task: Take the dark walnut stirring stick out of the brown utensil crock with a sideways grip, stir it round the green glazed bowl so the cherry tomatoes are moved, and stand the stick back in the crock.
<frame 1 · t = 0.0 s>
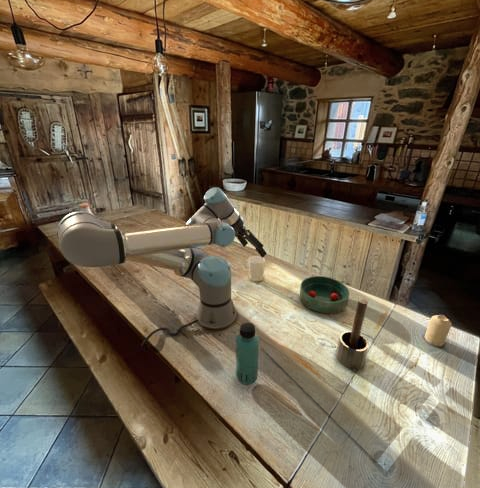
hand: (254, 249, 122), 15 cm above the table, tool tilted 35°, fingers open, 13 cm apart
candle: (433, 341, 92), on the table
tomato 1: (334, 296, 111), point 2 cm above the table, touching bowl
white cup: (256, 278, 128), on the table
tomato 2: (312, 294, 112), point 2 cm above the table, touching bowl
bowl: (322, 300, 112), on the table
crock: (349, 359, 84), on the table
stirring stick: (349, 358, 84), point 1 cm above the table, touching crock
beverage bottle: (246, 380, 77), on the table
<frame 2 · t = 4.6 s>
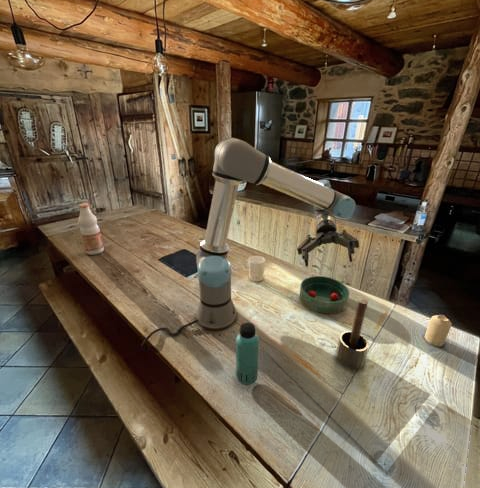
hand: (327, 260, 85), 28 cm above the table, tool horizontal, fingers open, 13 cm apart
nothing on the table moved.
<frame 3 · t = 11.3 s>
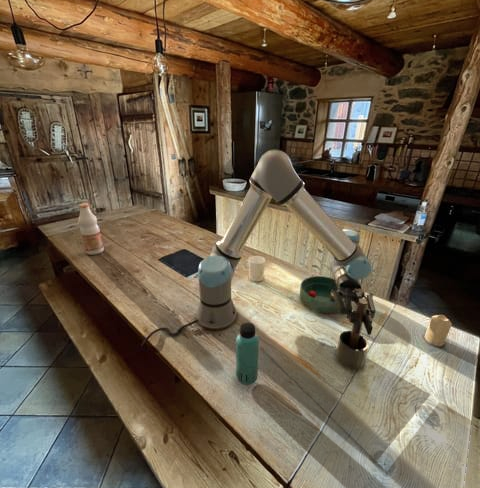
hand: (364, 330, 72), 17 cm above the table, tool horizontal, fingers closed on stirring stick, 2 cm apart
stirring stick: (349, 358, 84), point 1 cm above the table, touching gripper
everything else where it was.
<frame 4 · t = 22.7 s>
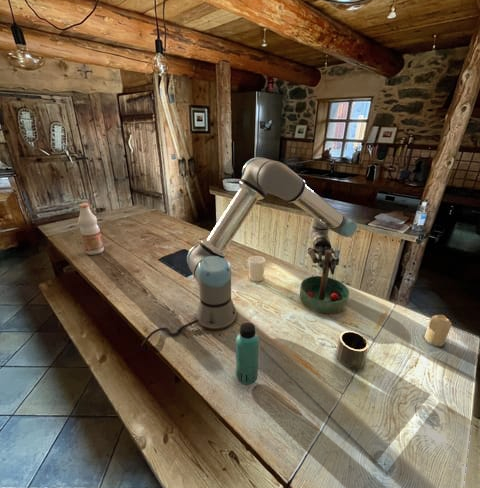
hand: (328, 270, 98), 19 cm above the table, tool horizontal, fingers closed on stirring stick, 2 cm apart
tomato 2: (309, 295, 111), point 2 cm above the table, tilted 62°, touching bowl
stirring stick: (321, 298, 110), point 2 cm above the table, touching gripper
everything else where it was.
when the fingers open (17 cm above the table, at t = 33.4 s): stirring stick stays where it is, resting on crock.
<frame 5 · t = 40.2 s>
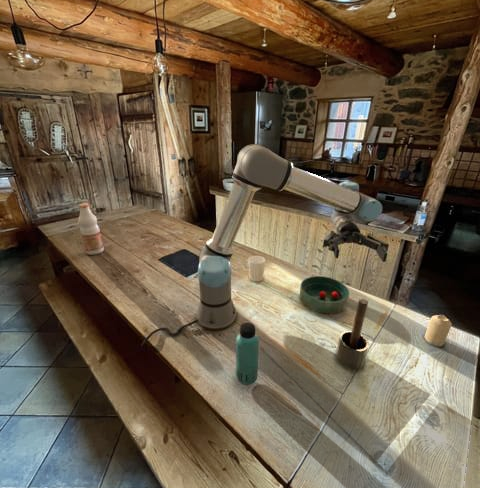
hand: (361, 256, 80), 32 cm above the table, tool horizontal, fingers open, 13 cm apart
tomato 1: (334, 295, 112), point 2 cm above the table, tilted 44°, touching bowl
tomato 2: (322, 294, 112), point 2 cm above the table, tilted 140°, touching bowl
stirring stick: (350, 358, 84), point 1 cm above the table, touching crock
everything else where it was.
at the end: tomato 1 moved 1.3 cm from its start; stirring stick 0.1 cm off-centre in the crock, point 0.6 cm above the crock's base; stirring stick tilted 0° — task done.
